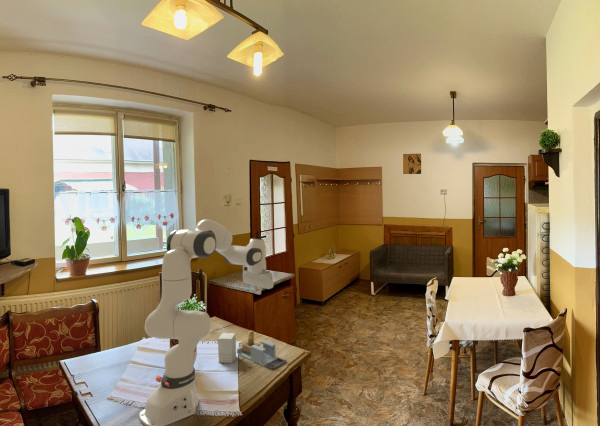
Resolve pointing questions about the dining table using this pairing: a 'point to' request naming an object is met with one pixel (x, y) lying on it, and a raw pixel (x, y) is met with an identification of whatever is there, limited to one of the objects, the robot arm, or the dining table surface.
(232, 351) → the supplement box
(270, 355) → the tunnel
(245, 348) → the tan tall piece
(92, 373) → the dining table surface
